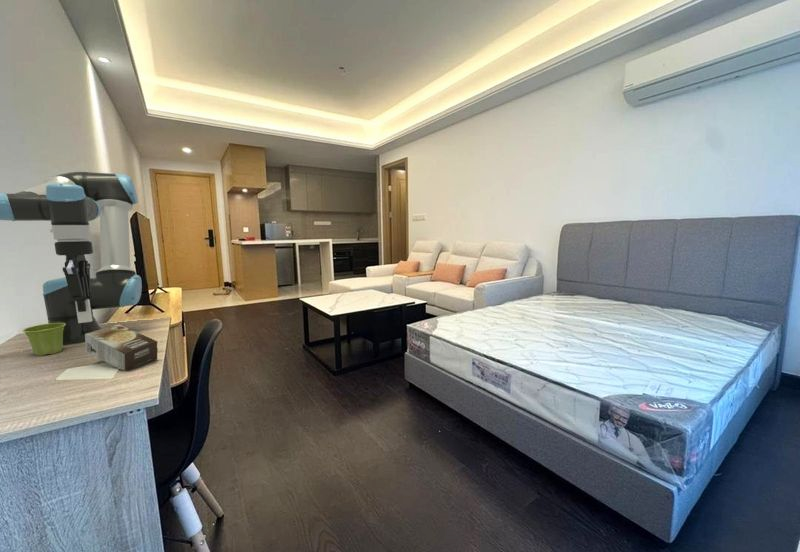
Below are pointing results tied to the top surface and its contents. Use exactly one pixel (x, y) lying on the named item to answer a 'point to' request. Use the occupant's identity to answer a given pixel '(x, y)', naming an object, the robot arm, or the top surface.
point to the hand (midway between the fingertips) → (85, 321)
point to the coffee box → (121, 347)
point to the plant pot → (46, 338)
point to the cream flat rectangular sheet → (90, 372)
